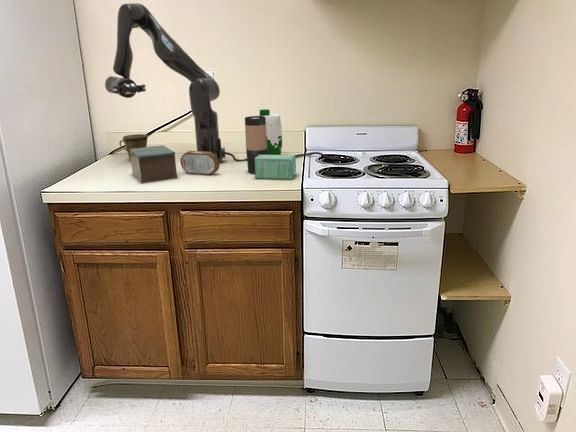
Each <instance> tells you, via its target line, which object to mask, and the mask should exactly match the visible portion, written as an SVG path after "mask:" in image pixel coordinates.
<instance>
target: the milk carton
mask: <svg viewBox="0 0 576 432" xmlns="http://www.w3.org/2000/svg"><path fill="white" fill-rule="evenodd" d="M258 116H264V117H265V118H266V138H267V155H282V150H283V149H282V148H283V129H282V119H281V114H280V113H270V109H268V108H264V109H263V108H262V109H259V115H258Z"/></svg>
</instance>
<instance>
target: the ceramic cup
mask: <svg viewBox="0 0 576 432" xmlns="http://www.w3.org/2000/svg"><path fill="white" fill-rule="evenodd" d="M122 142H123V143H124V146H125V147H124V146H123V145H122ZM118 145H119V147H121V148H122V149H124V151H126V152H127V155H128V158H129V161H130V162H131V157H130V150H129V149H134V148H143V147H148V135H147V134H146V133H145V134H144V133H143V134H142V133H141V134H140V133H138V134H127V135H124V136H122V139H121V140H120V141H119V144H118Z"/></svg>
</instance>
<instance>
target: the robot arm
mask: <svg viewBox="0 0 576 432" xmlns="http://www.w3.org/2000/svg"><path fill="white" fill-rule="evenodd" d="M116 23H117V28H116V48H115V49H116V50H115V54H114V55H115V56H114V60H113V65H112V70H113V72H114V73H115V75H118V76H113V75H110V76H108V77H106V79H105V81H104V88H105V90H106V91H107V92H108V93H109V94H115V95H119V96H120V97H122V98H126V99H131V98H133V97H134V96H136V94H137V93H144V92H147V89H146V84H144V83H143V84H136V82H135V81H134V80H133V79H131V70H132V66H133V60H134V53H133V49H132V45H131V40H130V39H131V34H132V30H133V29H140V30H142V31H143V32H144V33H145V34H146V35H147V36H148V37H149V38H150V41H151V43H152V47H153V51H154V53H155V55H156V56H157V58H159V60H160V61H161V62H162V63H163V64H164V65H165V66H166V67H168V69H170V70H172V71H173V72H175V73H177V74H179V75H180V76H182V77H184V78H185V79H187V80H188V81H189V82H190V84H189V87H188V95H189V104H190V110H191V114H192V116H193V121H194V132H195V133H194V134H195V142H196V151H204V152H212V153H213V154H215V155H216V156H217V158H218V160H219V164H220V163H223V159H226V156H227V155H228V156H230V157H231V158H232V159H233V161H235V162H247V158H243V159H239V158H236V156H235V155H234V154H233V153H230V152H228V151H226V148H225V147H222V140H221V138H220V132H219V119H218V118H219V117H218V112H217V111H215V110H213V108H212V104H211V102H214V101H216V100H218V99H219V97H220V95H221V89H220V86H219V84H218V82H217V80H215V79H214V78H213V77H212V76H211V75H210V74H209V73H207V72H206V71H205V70H204V69H203V68H202V67H201V66H199V65H198V64H197V62H195V61H194V59H193V58H192V57H191V56H190V55H189V54H188V53H187V52H186V51H185V49H183V47H182V46H180V44H179V43H178V42H177V41H176V40H175V39H174V38H172V36H171V35H170V34H169V33H168V32H167V31H166V30H165V29H164V28H163V26H161V24H160V23H159V22H158V21H157V19H156V18H155V17H154V15H153V14H152V12H151V11H150V10H149V9H148V8H147V7H146V6H145V5H144V4H142V3H138V2H135V3H134V2H132V3H130V2H129V3H122V4H121V5H120V7H119V8H118V11H117V22H116ZM119 76H120V77H119ZM312 155H319V156H322V157H323V158H326V156H327V155H326V154H325V153H322V152H320V151H312V152H308V153H307V152H306V153H298V154H295V155H294V156H295V158H298V157H299V158H300V157H305V156H312Z"/></svg>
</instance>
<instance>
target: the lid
mask: <svg viewBox="0 0 576 432" xmlns="http://www.w3.org/2000/svg"><path fill="white" fill-rule="evenodd" d="M129 150H130V152H132V153H133V154H134V155H135V156H136V157H138V158H139V159H141V158H150V157H158V156H166V155H175V156H176V152H175V151H174V150H172V149H170V148H168V147H167V146H165V145H164V144H163V145H162V144H161V145H154V146H152V145H151V146H146V147H143V148H134V149H129Z"/></svg>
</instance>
